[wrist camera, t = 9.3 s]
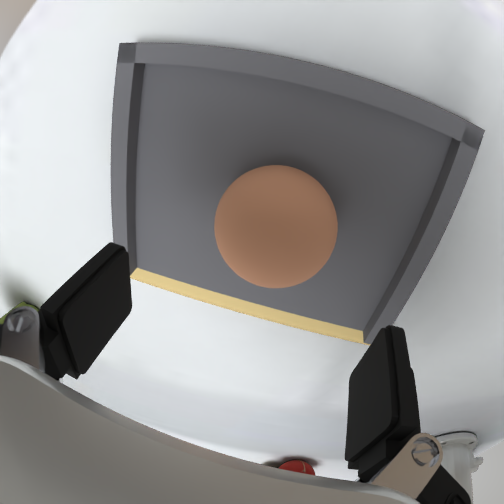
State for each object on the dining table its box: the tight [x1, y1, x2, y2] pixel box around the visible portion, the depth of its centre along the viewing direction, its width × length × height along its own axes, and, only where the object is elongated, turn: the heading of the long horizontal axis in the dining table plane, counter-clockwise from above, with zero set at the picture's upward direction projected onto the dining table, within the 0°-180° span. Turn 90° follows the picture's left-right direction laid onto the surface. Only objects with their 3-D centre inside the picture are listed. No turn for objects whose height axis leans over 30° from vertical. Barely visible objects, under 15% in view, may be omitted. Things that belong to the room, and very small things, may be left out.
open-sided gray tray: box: [111, 43, 485, 345], centre depth 18 cm, size 22×18×2 cm
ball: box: [214, 165, 338, 288], centre depth 15 cm, size 6×6×6 cm
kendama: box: [279, 460, 315, 475], centre depth 40 cm, size 8×6×18 cm
